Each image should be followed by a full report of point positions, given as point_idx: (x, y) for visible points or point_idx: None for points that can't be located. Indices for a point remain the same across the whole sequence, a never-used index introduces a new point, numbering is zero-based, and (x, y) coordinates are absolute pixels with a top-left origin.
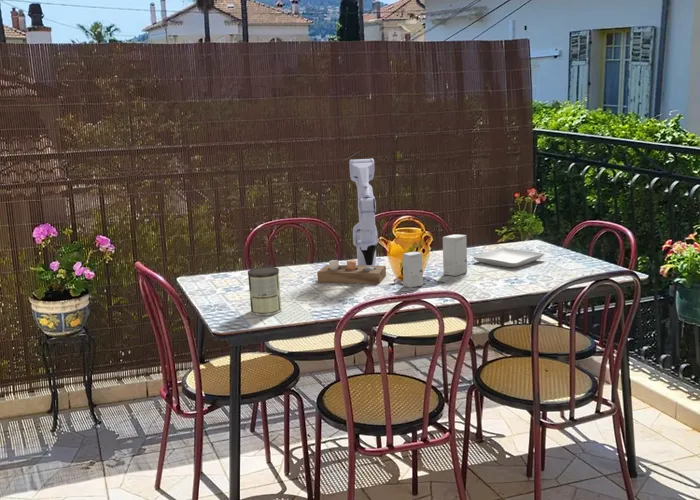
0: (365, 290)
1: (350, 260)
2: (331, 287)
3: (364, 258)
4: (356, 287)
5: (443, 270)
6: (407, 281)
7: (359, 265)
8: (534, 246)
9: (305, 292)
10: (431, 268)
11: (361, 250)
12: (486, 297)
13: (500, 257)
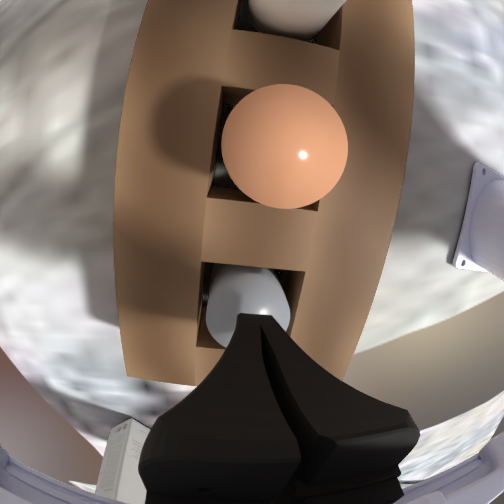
0: (25, 275)
1: (339, 130)
2: (61, 69)
3: (230, 344)
4: (58, 218)
5: None
6: (113, 440)
7: (395, 210)
8: None
9: (16, 3)
10: None
11: (160, 420)
12: None
13: None
